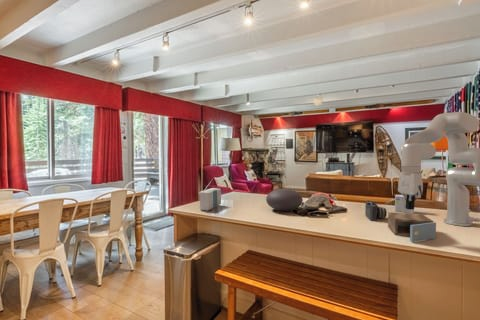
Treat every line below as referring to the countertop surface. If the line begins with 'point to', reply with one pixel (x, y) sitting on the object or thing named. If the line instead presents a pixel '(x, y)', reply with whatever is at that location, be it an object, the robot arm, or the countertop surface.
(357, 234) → the countertop surface
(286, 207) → the smooth stone
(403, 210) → the light bulb box
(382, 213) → the camera
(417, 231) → the case door
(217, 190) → the stereo radio cassette player
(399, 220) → the walnut case
